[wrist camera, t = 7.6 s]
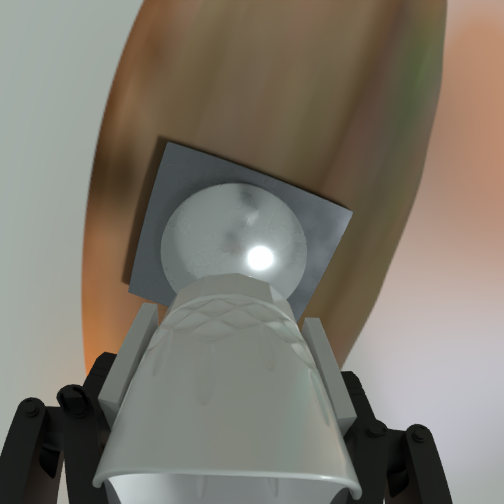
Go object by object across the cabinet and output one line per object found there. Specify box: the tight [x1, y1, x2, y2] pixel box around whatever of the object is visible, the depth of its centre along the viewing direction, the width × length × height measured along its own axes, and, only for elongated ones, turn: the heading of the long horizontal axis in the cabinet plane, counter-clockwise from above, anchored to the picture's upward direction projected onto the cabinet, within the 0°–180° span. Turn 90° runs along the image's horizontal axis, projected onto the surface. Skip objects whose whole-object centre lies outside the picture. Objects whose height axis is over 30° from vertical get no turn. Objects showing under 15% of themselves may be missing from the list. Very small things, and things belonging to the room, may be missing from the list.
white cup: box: [92, 273, 362, 504], centre depth 10 cm, size 8×8×10 cm
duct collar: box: [128, 141, 353, 324], centre depth 25 cm, size 14×16×2 cm
